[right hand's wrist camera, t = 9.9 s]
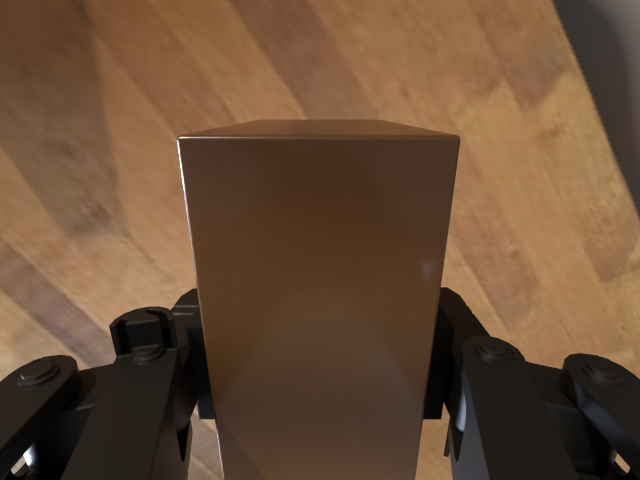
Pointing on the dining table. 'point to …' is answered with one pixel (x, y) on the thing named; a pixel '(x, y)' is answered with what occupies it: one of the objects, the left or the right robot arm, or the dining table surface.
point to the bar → (318, 290)
